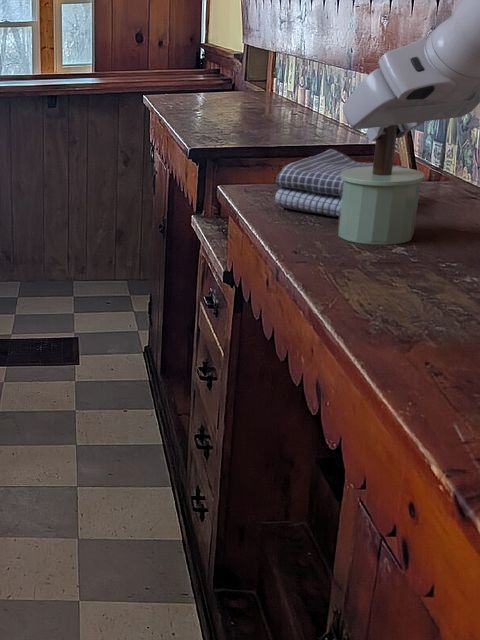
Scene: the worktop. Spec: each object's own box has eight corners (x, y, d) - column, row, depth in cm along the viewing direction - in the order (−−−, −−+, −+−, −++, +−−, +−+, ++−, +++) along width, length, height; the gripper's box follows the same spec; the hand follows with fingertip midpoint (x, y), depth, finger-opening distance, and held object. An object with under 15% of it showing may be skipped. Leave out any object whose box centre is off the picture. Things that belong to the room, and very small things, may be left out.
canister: (420, 231, 128) (428, 173, 125) (401, 248, 121) (409, 187, 118) (350, 223, 134) (356, 168, 131) (328, 239, 127) (333, 181, 123)
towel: (269, 211, 144) (273, 163, 141) (323, 190, 155) (328, 146, 152) (357, 224, 134) (363, 173, 131) (408, 201, 145) (415, 154, 142)
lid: (432, 177, 125) (441, 112, 122) (412, 193, 117) (421, 123, 113) (353, 171, 132) (359, 109, 128) (328, 186, 124) (334, 120, 120)
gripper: (499, 42, 114) (431, 111, 126) (373, 53, 108) (315, 124, 120) (522, 79, 112) (450, 146, 124) (395, 93, 106) (333, 161, 118)
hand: (383, 135), depth 122 cm, fingers closed on lid, 2 cm apart
